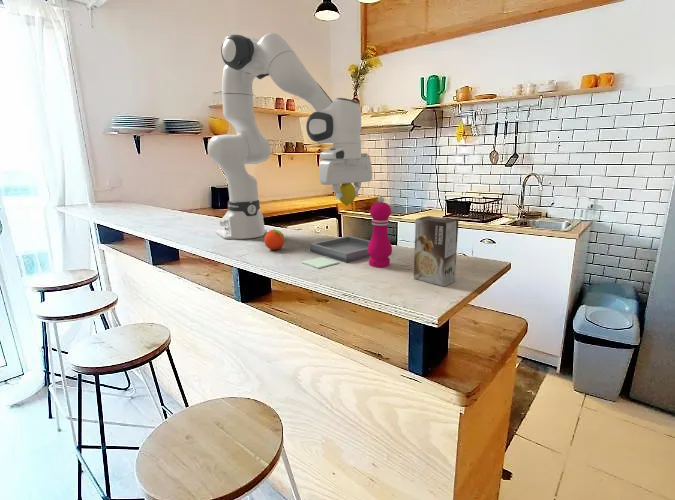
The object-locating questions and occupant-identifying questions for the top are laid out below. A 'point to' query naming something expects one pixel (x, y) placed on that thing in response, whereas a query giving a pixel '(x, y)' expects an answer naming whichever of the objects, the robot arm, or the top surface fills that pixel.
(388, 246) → the pepper mill
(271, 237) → the clementine
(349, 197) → the lemon
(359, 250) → the slate tray
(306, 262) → the green mat
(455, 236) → the coffee box
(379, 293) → the top surface
